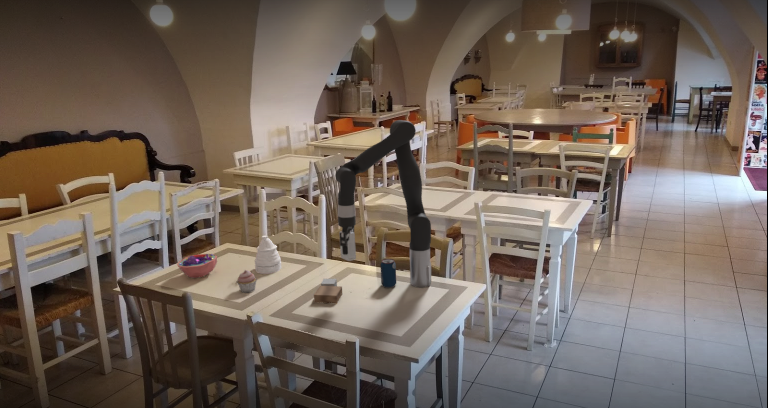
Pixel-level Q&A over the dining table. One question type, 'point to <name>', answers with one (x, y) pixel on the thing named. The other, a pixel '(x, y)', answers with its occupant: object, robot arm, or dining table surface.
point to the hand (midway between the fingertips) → (347, 251)
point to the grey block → (329, 282)
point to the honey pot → (267, 257)
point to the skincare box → (349, 248)
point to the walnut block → (328, 294)
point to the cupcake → (246, 281)
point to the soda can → (388, 273)
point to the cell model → (198, 265)
